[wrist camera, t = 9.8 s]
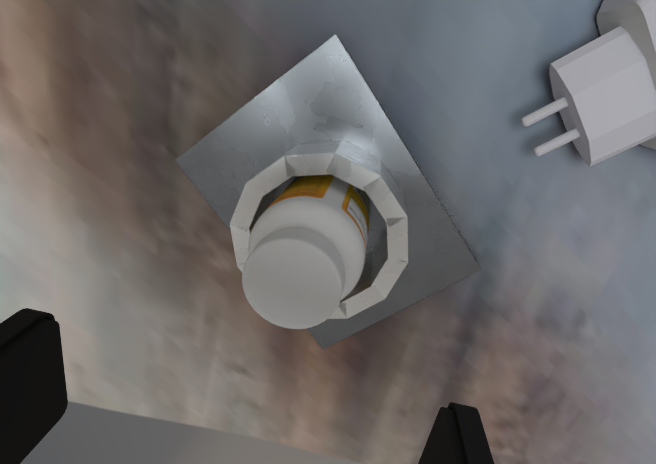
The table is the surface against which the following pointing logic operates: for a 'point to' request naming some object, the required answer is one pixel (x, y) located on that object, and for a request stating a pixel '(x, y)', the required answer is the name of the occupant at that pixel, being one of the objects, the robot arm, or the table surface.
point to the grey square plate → (344, 163)
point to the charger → (607, 85)
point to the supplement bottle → (307, 251)
